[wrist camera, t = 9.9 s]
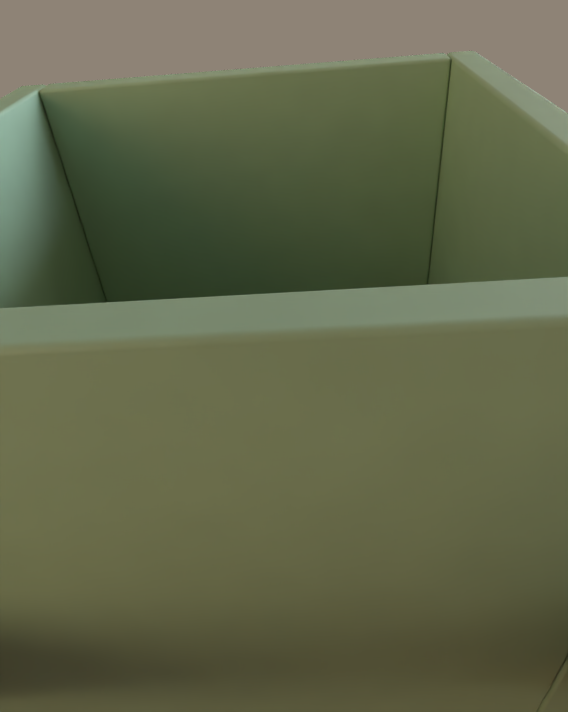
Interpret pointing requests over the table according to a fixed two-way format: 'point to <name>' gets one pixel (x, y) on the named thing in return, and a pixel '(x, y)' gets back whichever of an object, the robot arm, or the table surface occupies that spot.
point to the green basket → (285, 391)
